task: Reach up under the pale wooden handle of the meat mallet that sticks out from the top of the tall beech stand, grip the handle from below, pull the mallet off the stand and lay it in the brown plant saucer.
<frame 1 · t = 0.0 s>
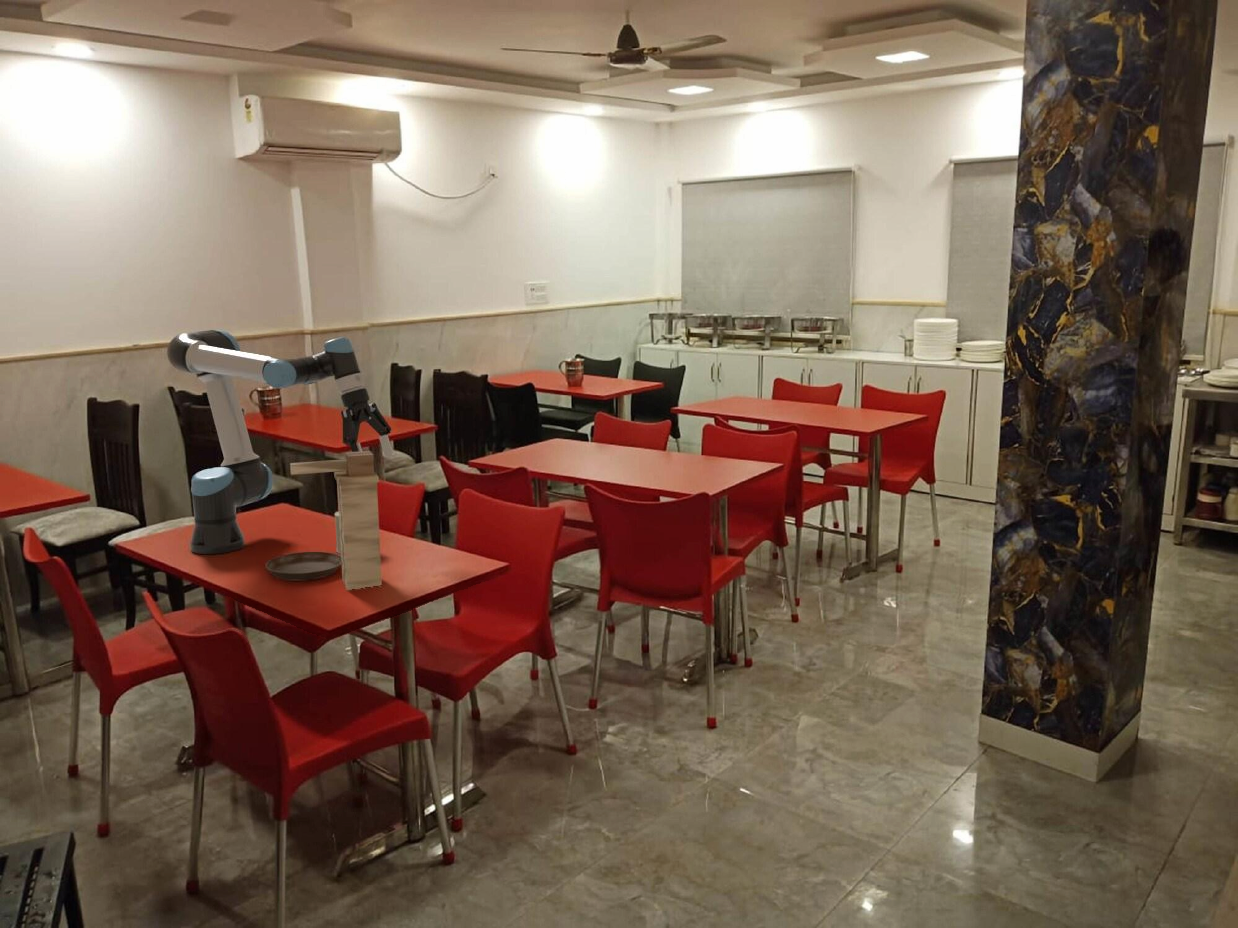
hand: (376, 461, 286), 28 cm above the table, tool tilted 20°, fingers open, 13 cm apart
can: (352, 550, 295), on the table
mallet: (360, 474, 259), point 30 cm above the table, touching stand
stand: (362, 583, 265), on the table
plant saucer: (305, 573, 274), on the table
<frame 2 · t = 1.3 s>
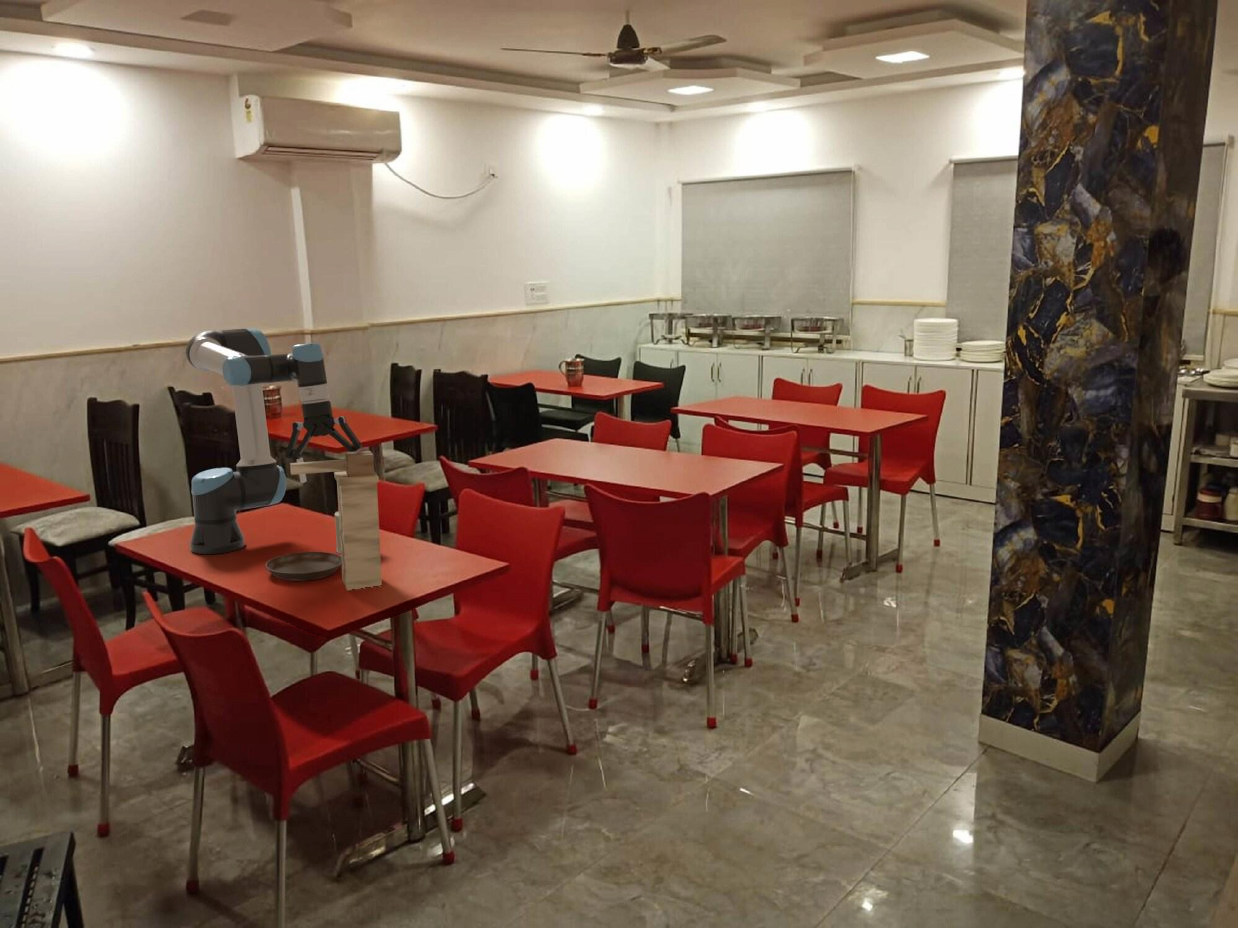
hand: (328, 479, 265), 27 cm above the table, tool pointing down, fingers open, 13 cm apart
nothing on the table moved.
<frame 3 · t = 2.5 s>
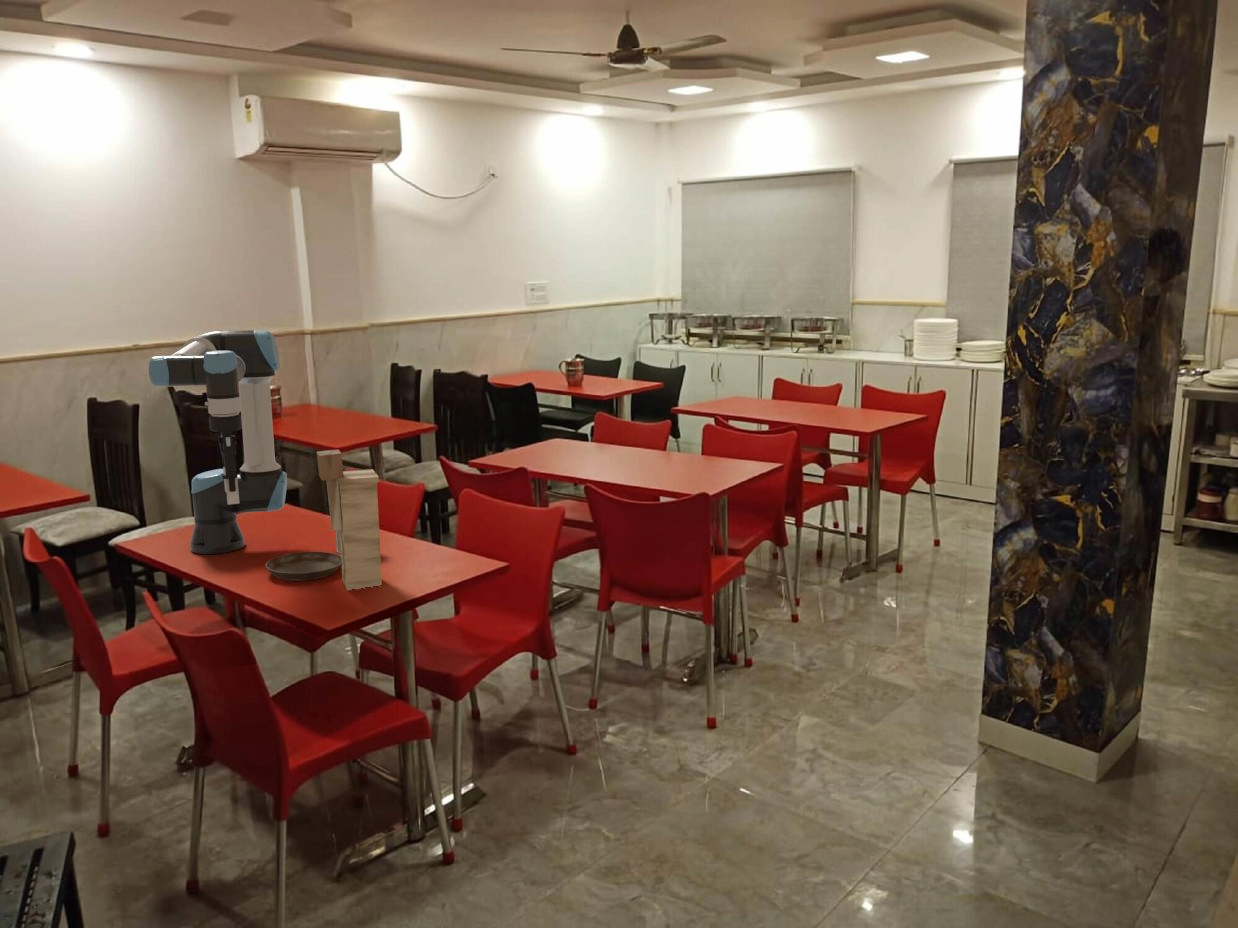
hand: (232, 497, 248), 27 cm above the table, tool pointing down, fingers open, 13 cm apart
mallet: (341, 463, 256), point 33 cm above the table, tilted 93°, touching stand
everything else where it was.
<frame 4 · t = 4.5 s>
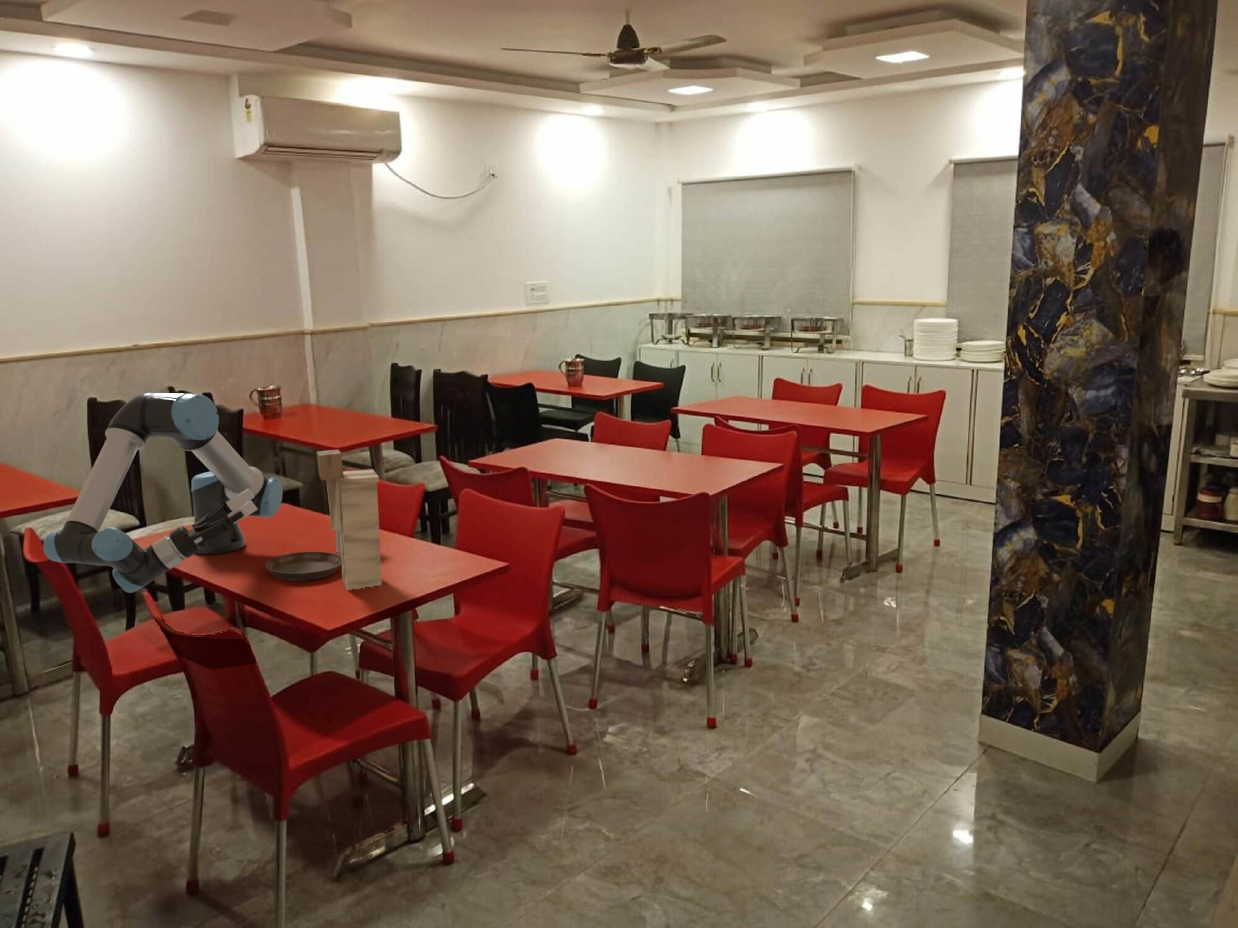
hand: (252, 498, 250), 26 cm above the table, tool pointing upward, fingers open, 13 cm apart
nothing on the table moved.
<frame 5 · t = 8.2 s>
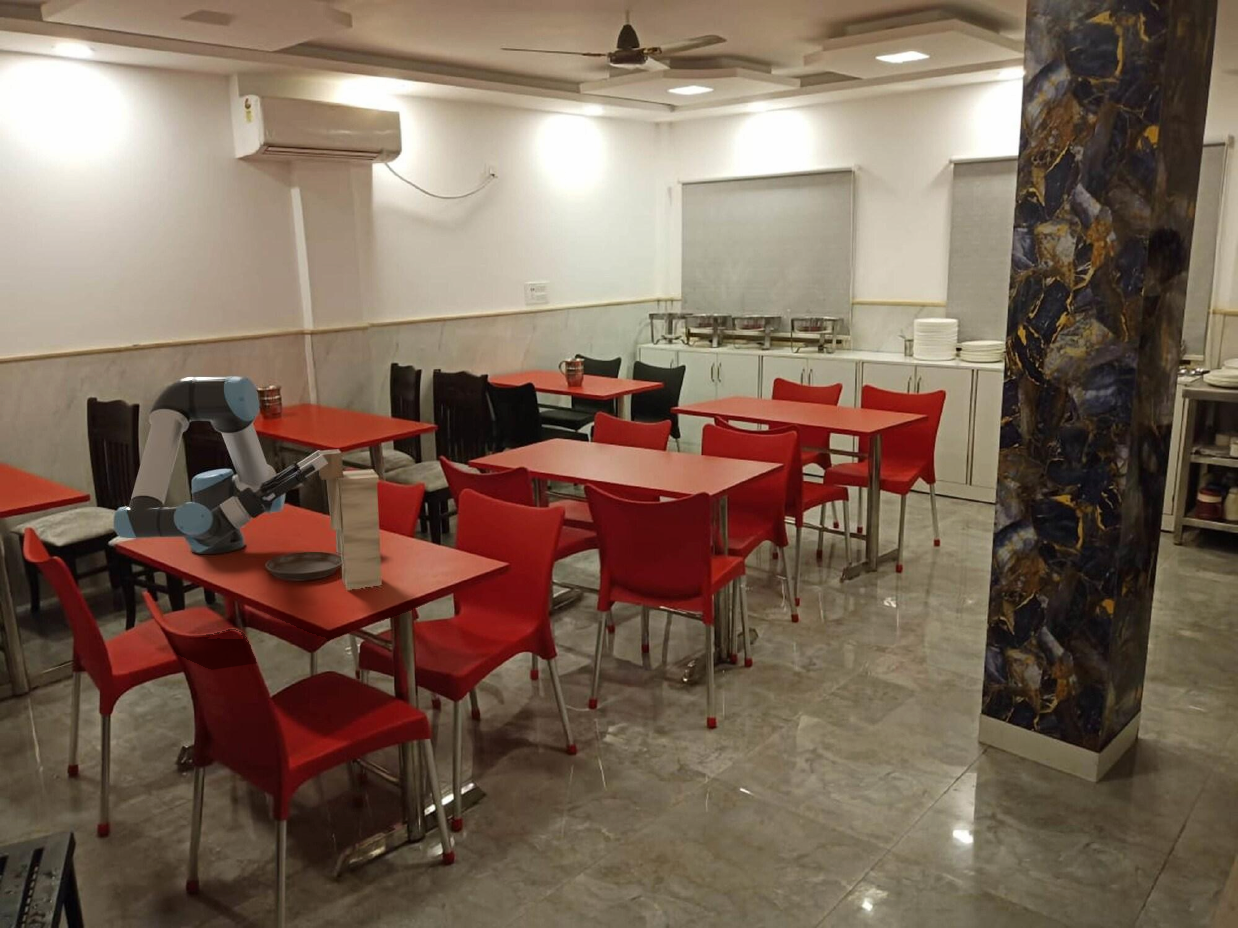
hand: (323, 456, 254), 35 cm above the table, tool pointing upward, fingers closed on mallet, 5 cm apart
mallet: (341, 463, 256), point 33 cm above the table, tilted 92°, touching gripper, stand
everything else where it was.
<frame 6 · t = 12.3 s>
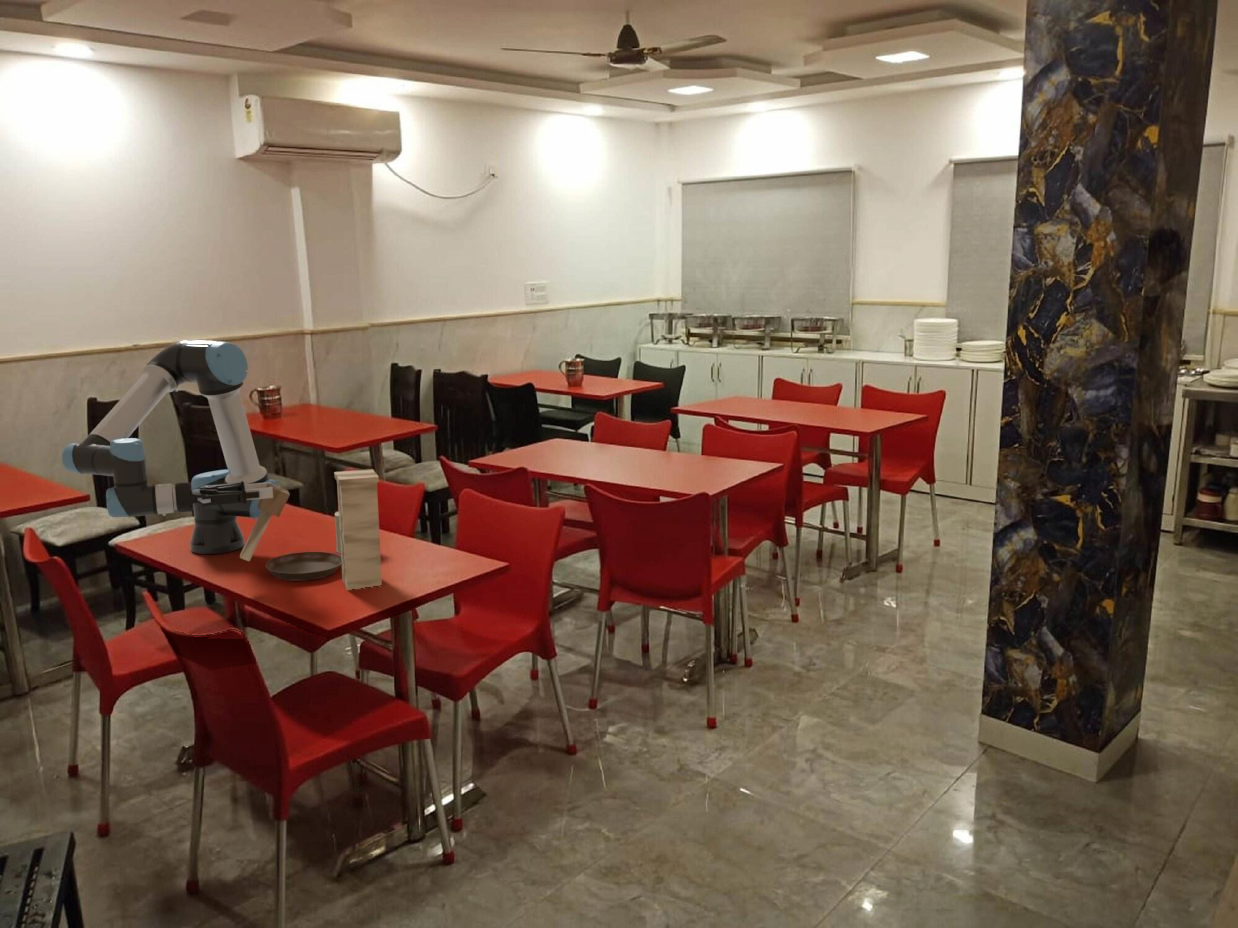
hand: (271, 489, 259), 26 cm above the table, tool horizontal, fingers closed on mallet, 5 cm apart
mallet: (283, 503, 261), point 22 cm above the table, tilted 61°, touching gripper
everything else where it was.
when the fingers open (12 cm above the table, at t = 15.4 s): mallet drops 9 cm, resting on plant saucer.
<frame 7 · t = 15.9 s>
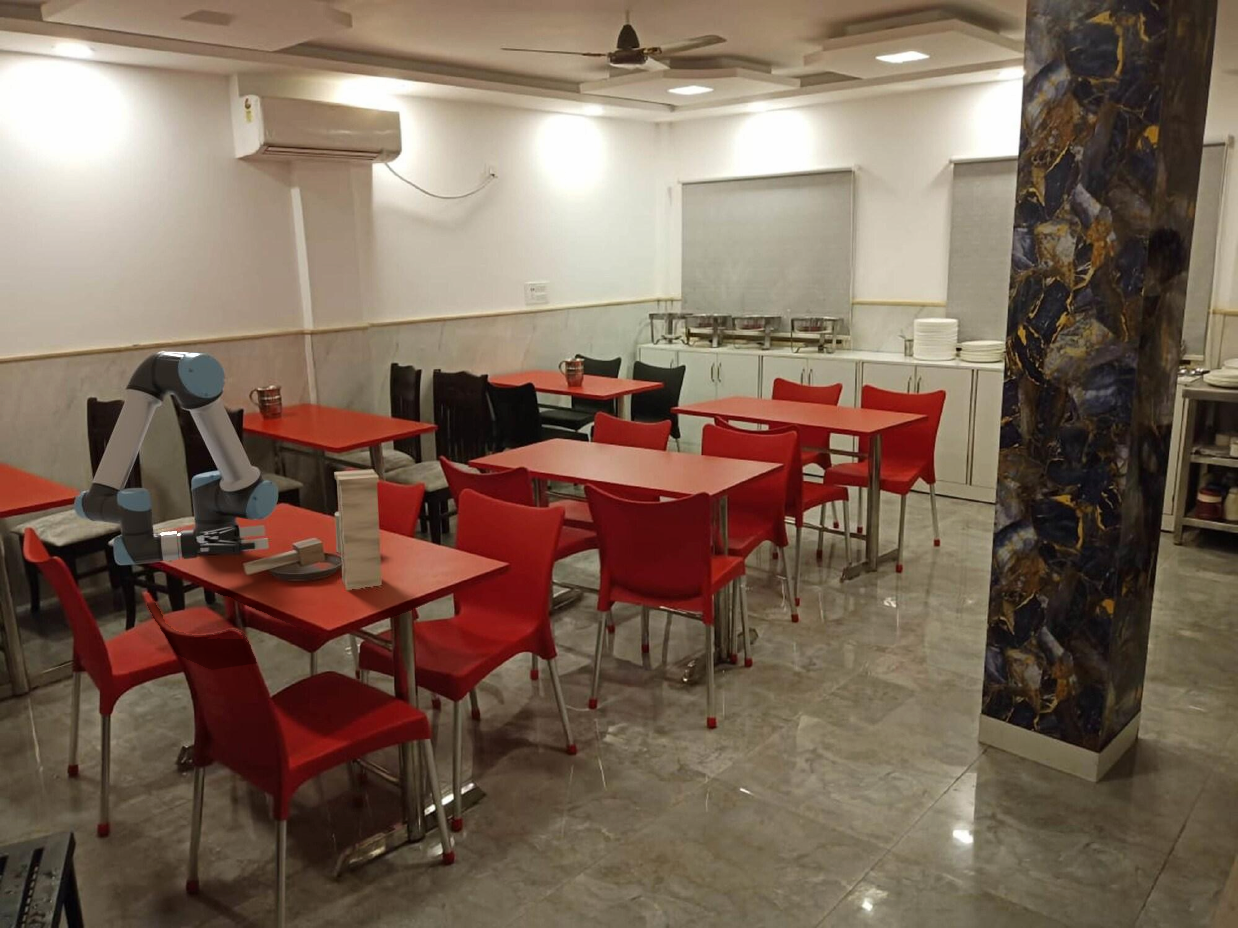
hand: (266, 536, 265), 12 cm above the table, tool horizontal, fingers open, 13 cm apart
mallet: (310, 561, 273), point 3 cm above the table, tilted 6°, touching plant saucer
plant saucer: (305, 573, 275), on the table, touching mallet
everything else where it was.
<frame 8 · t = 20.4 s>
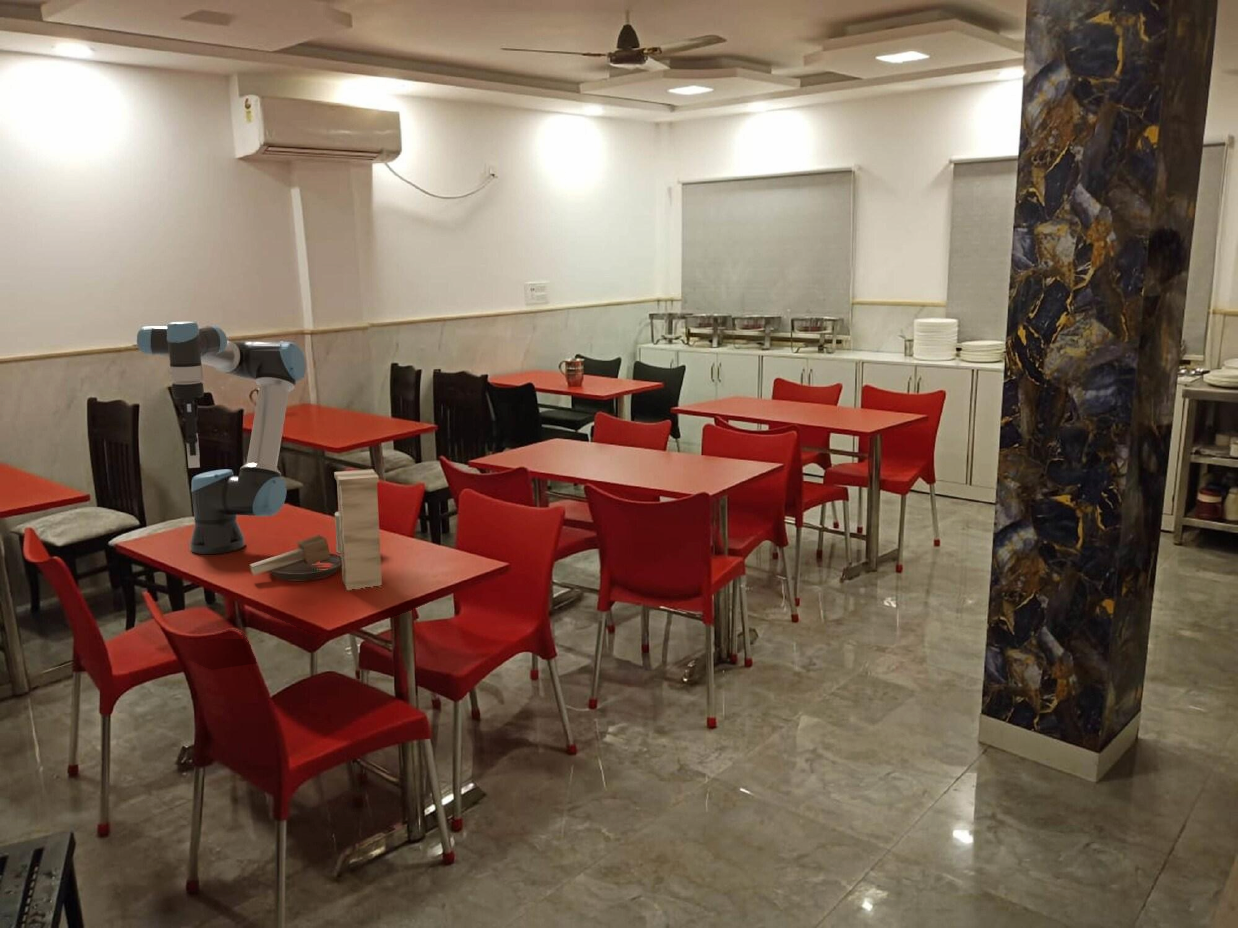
hand: (194, 462, 259), 33 cm above the table, tool pointing down, fingers open, 13 cm apart
mallet: (315, 558, 275), point 3 cm above the table, tilted 9°, touching plant saucer
everything else where it was.
at the end: mallet 2.8 cm from the plant saucer (horizontally); mallet point 3.4 cm above the table; the gripper is holding nothing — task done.
